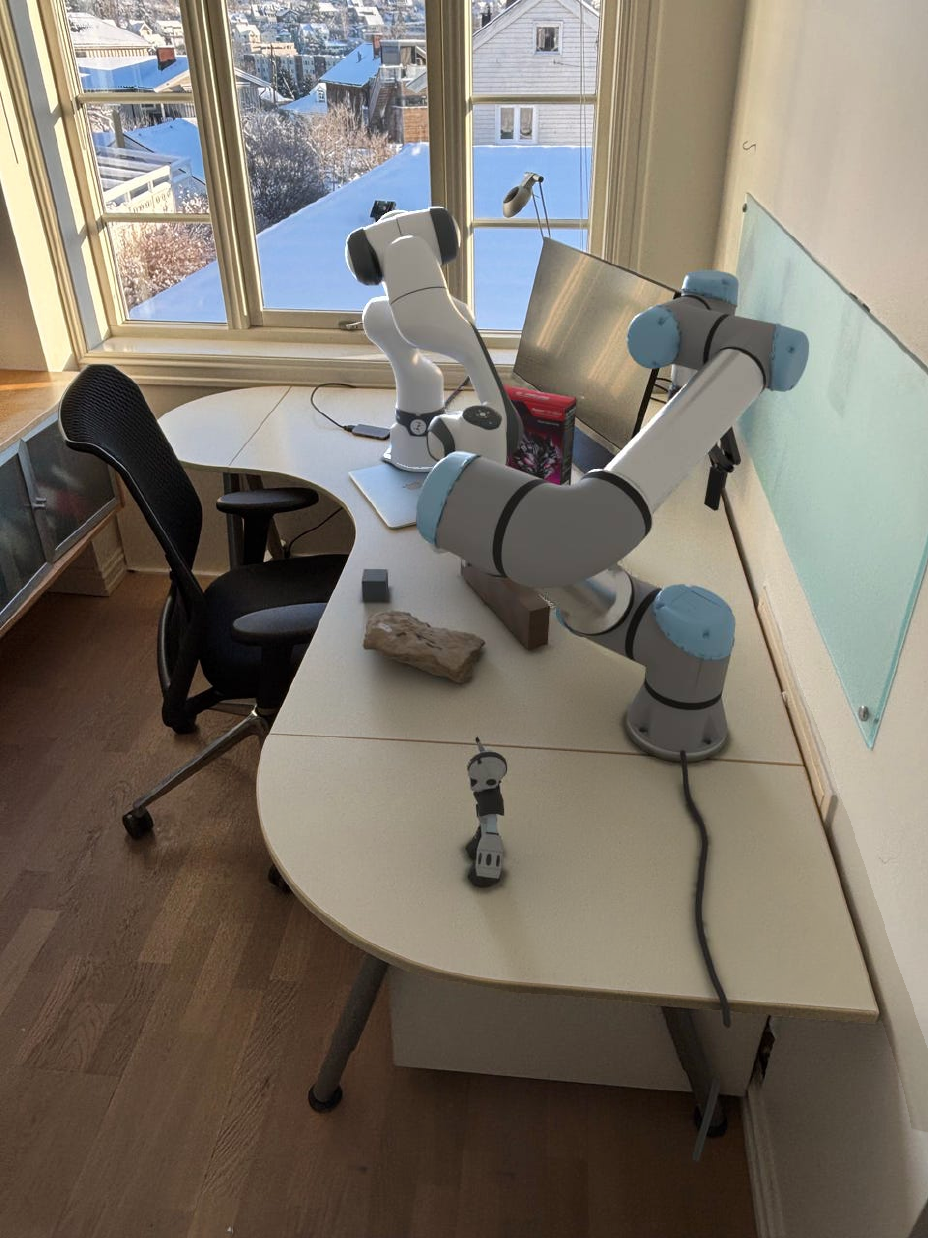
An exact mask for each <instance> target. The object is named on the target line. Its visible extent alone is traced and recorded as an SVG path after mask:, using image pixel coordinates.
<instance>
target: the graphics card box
mask: <svg viewBox="0 0 928 1238" xmlns="http://www.w3.org/2000/svg"><path fill="white" fill-rule="evenodd" d="M503 386H504V389H505V391H506V393H507V395H508V397H509V399H510V401H511V402H512V404H513V406H514V407H515V409H516V410H517V412H518V414H519V415H520V418H521V420H522V423H523V428H524V434H523V438H522V440H521V443H520V445H519V446H518V448H517V449H516V451H515V452H514V453H513V454H512V455H511V456H507V457H506V464H505V465H506V466H508V467H511V468H514V469H516V470H519V471H522V472H524V473H527V474H530V475H532V476H535V477H538V478H540V479H543V480H546V481H548V482H551V483H553V484H556V485H561V486H567V485H572V470H573V469H572V468H573V454H574V443H575V442H574V441H575V429H576V414H577V403H578V399H577V397H576V396H575V397H574V396H567V395H566V396H565V395H561V394H555V393H549V392H545V391H539V390H536V389H535V390H534V389H530V388H523V387H518V386H513V385H510V384H503Z"/></svg>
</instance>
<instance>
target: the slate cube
mask: <svg viewBox="0 0 928 1238" xmlns="http://www.w3.org/2000/svg"><path fill="white" fill-rule="evenodd" d="M361 595H362V602H380V603H381V602H387V601H388V596H389V570H388V568H363V571H362V578H361Z"/></svg>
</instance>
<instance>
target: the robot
mask: <svg viewBox="0 0 928 1238" xmlns="http://www.w3.org/2000/svg"><path fill="white" fill-rule="evenodd" d="M474 740H475V743H476V746H477V748H478V750H479V751H478V752H477V753H475V755H473V756H472V757H471V758H470V759H469V761H468V762H467V765H466V770H467V776H468V779H469V781H470V782H469V789H470V791H472V792H473V793H472V794H473V796H474V799H475V801H476V804H475V814H476V819H477V820H478V827H477V828H476V831H475V833H474V835H473V836H472V838H471V839H470V841H469V842H468V843H467V845H466V847H465V851H466V853H467V855H468V857H469V858H470V859H472V860H474V861H473V862H472V864H471V866H470V868H469V871H468V874H467V877H466V878H467V879H468V880H469V882H470V883H472V885H473V886H476V887H479V888H486V887H491V886H492V885H494V884H496V883H498V882H500V880H501V877H502V873H503V872H502V867H503V866H502V865H503V859H504V849H505V847H504V843H503V838H502V836H501V835H500V833H498V825H497V824H498V816H501V817H504V816H505V804H504V803H505V801H504V797H503V795H502V793H501V785H500V784H501V783H502V779H503V778H504V777H506V775H507V773H508V762H507V759H506V758H505V757H504V756H503V755H502V754H501V753H499V752H497V751H495V750H492V749H485V747H484V745H483V743H482V741H481V739H480V738H479V736H476V737H475V739H474Z"/></svg>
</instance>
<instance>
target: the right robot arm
mask: <svg viewBox="0 0 928 1238" xmlns="http://www.w3.org/2000/svg"><path fill="white" fill-rule="evenodd" d="M739 283H740V282H739V279H738V278H737V276H735V275H734V274H732V273H730V272H726V271H722V270H715V269H714V270H713V269H697V270H693V271H691V272H689V273H687V274H686V275H685V277H684V278H683V284H682V287H681V289H680V293H681V295H680V296H678V297H676V298H675V299H672V300H669V301H666V302H663V303H660V304H656V305H653V306H650V307H648V308H647V309H646V310H644V311H642V312H640V313H638V314H637V315H636V316H635V317H634V318H633V319H632V321H631V322H630V324H629V326H628V328H627V332H626V346H627V350H628V352H629V354H630V357H631V358H632V360H633V361H634V362H635V363H636V364H638V365H639V366H640V367H642V368H645V369H649V370H656V369H661V368H666V367H669V366H670V365H671V372H670V381H671V383H669V386H668V392H667V399H666V404H665V405H664V406H663V407H662V408H661V409H660V410H659V411H657V413H656V414H655V415H654V416H653V417H652V418H651V419H649V420H648V421H647V424H645V425H644V426H643V427H642V429H640V431H638V432H637V434H636V435H635V436H633V438H632V439H630V441H629V442H628V443H627V444H626V445H625V446H624V447H623V448H622V449H621V450H620V451H619V452H618V453H617V454H616V455H615V456H614V457H613V458H612V459H611V461H609V462H608V464H607V465H606V466H605V467H604V468H597V469H592V470H590V471H588V472H587V473H585V474H584V475H583V476H582V477H581V478H580V479H579V480H578V481H577V482H575V483H573V484H571V485H567V486H561V485H556V484H553V483H551V482H548V481H546V480H543V479H540V478H538V477H535V476H532V475H530V474H527V473H524V472H522V471H519V470H516V469H514V468H511V467H508V466H506V465H503V464H500V463H498V462H495V461H492V460H490V459H487V458H484V457H482V455H480V454H473V453H469V452H464V451H457V452H453V453H451V454H449V455H448V456H447V457H446V458H443V459H441V460H440V461H439V462H438V463H437V464H436V465H435V466H434V468H433V469H432V470H431V471H429V473H428V474H427V477H426V478H425V480H424V482H423V484H422V486H421V488H420V492H419V494H418V498H417V502H416V515H415V522H416V528H417V530H418V533H419V535H420V536H421V538H422V539H423V540H425V541H426V542H427V541H428V542H429V543H431V544H433V546H434V547H435V548H438V549H440V548H442V549H444V550H446V551H448V552H447V553H451V554H453V555H455V556H456V557H458V558H460V559H461V558H462V559H464V560H465V561H467V562H468V563H470V564H472V565H473V566H475V567H476V568H478V569H480V570H481V571H483V572H484V573H486V574H488V575H490V576H492V577H495V578H500V579H511V580H512V581H514V582H516V583H518V584H521V585H524V586H527V587H529V588H531V589H532V590H534V591H535V592H537V593H538V594H539V595H540V596H541V597H542V598H543V599H545V600H547V601H548V602H550V603H552V604H553V605H554V607H555V610H554V614H555V617H556V619H557V621H558V623H559V624H560V625H561V626H562V627H563V628H564V629H566V630H568V632H570V633H571V634H572V635H575V636H577V637H579V638H583V639H586V640H588V641H590V642H592V643H595V644H597V645H599V646H601V647H603V648H605V649H608V650H609V651H612V652H613V653H616V654H618V655H620V656H622V657H623V658H626V659H629V660H631V661H632V662H635V663H637V664H639V665H641V666H643V667H644V670H645V671H644V677H643V682H642V684H641V685H640V688H639V689H638V691H637V692H636V694H635V695H634V697H633V699H632V701H631V702H630V704H629V705H628V707H627V711H626V719H625V728H626V732H627V734H628V736H629V738H630V739H631V741H632V742H634V744H636V745H637V746H638V747H639V748H640V749H641V750H643V751H645V752H646V753H648V754H650V755H651V756H654V757H656V758H659V759H662V760H666V761H670V762H675V763H680V766H681V773H682V787H683V793H684V797H685V801H686V804H687V806H688V808H689V810H690V812H691V813H692V815H693V818H694V819H695V822H696V823H697V826H698V828H699V831H700V836H701V849H700V851H701V852H700V857H699V862H698V863H699V864H698V870H697V871H698V872H697V884H696V892H695V903H694V917H695V925H696V931H697V937H698V940H699V944H700V948H701V952H702V955H703V959H704V962H705V965H706V969H707V972H708V975H709V978H710V981H711V983H712V985H713V988H714V990H715V992H716V994H717V996H718V999H719V1002H720V1006H721V1013H722V1024H723V1026H724V1027H725V1028H731V1026H732V1024H731V1023H732V1021H731V1013H730V1012H731V1011H730V1007H729V1002H728V998H727V996H726V993H725V990H724V988H723V986H722V984H721V982H720V980H719V977H718V974H717V972H716V968H715V965H714V961H713V959H712V956H711V953H710V950H709V946H708V942H707V938H706V935H705V928H704V922H703V896H704V887H705V879H706V878H705V877H706V876H705V875H706V865H707V858H708V852H709V851H708V850H709V839H708V832H707V827H706V825H705V822H704V820H703V818H702V816H701V814H700V812H699V811H698V809H697V807H696V805H695V803H694V801H693V798H692V795H691V791H690V783H689V781H690V780H689V769H688V763H694V762H700V761H703V760H706V759H709V758H711V757H714V755H716V754H718V752H720V751H721V750H722V748H723V747H724V744H725V743H726V740H727V739H726V738H727V734H728V721H727V716H726V712H725V708H724V707H725V706H724V701H723V692H724V687H725V682H726V678H727V674H728V669H729V664H730V659H731V654H732V652H733V649H734V646H735V632H736V617H735V615H734V614H733V609H732V607H730V605H729V603H727V601H725V599H723V597H721V596H720V595H718V594H717V593H715V592H713V591H711V590H709V589H708V588H705V587H702V586H699V585H695V584H690V585H689V586H688V585H686V584H685V583H676V584H671V585H668V586H665V587H664V588H662V587H660V586H657V585H654V584H652V583H650V582H648V581H644V580H642V579H640V578H638V577H635V576H633V575H632V574H630V573H629V572H628V571H627V570H626V569H624V568H623V567H622V566H621V565H620V564H618V563H619V562H620V561H621V560H623V559H624V558H626V557H627V556H628V555H630V553H632V552H633V551H634V550H635V549H636V548H638V546H639V545H640V544H641V543H642V541H643V540H644V539H645V538H646V537H647V536H648V535H649V534H650V532H651V531H652V529H653V526H654V514H655V513H656V512H657V510H658V509H659V508H660V507H661V506H662V505H663V504H664V502H666V500H667V499H669V497H670V496H671V495H672V494H673V492H675V490H677V488H678V487H679V486H680V485H681V484H682V483H683V481H684V480H685V479H686V478H687V477H688V476H689V475H690V474H691V472H693V470H694V469H695V468H696V467H697V466H698V464H700V463H701V461H702V460H703V459H704V458H705V457H706V455H708V456H709V457H710V459H711V461H713V463H714V465H712V466H710V467H709V472H708V478H707V484H706V490H705V496H704V502H703V504H704V505H705V506H706V507H708V508H710V509H711V510H712V511H714V512H716V511H719V510H720V509H719V508H720V504H721V503H720V502H721V497H722V493H723V489H724V488H725V487H726V485H727V478H728V474H732V473H733V472H734V471H735V466H739V465H740V464H741V462H742V457H741V455H740V451H739V450H740V449H739V447H738V443H737V438H736V435H735V432H734V428H733V425H734V424H735V423H736V422H737V421H738V419H739V418H740V417H741V416H742V415H743V414H744V413H745V412H746V410H747V409H748V408H749V407H750V406H751V405H752V404H753V403H754V401H756V399H758V397H759V396H760V395H761V394H762V393H764V391H766V389H768V390H769V391H770V392H781V393H782V392H787V391H791V390H793V389H794V388H795V387H796V386H797V385H798V383H799V381H801V378H802V377H803V374H804V373H805V370H806V367H807V363H808V360H809V355H810V341H809V338H808V335H807V334H806V332H804V331H802V330H800V329H796V328H793V327H790V326H789V327H788V326H785V325H781V323H777V322H776V323H773V322H769V321H768V322H767V321H764V320H759V319H753V318H748V317H743V316H738V315H736V310H737V308H738V296H739V288H740V287H739V286H740V284H739ZM719 441H720V445H721V447H720V446H719V445H718V442H719ZM721 448H722V449H721ZM428 542H427V543H428ZM721 1082H722V1079H720V1078H716V1077H713V1080H712V1084H711V1088H710V1093H709V1096H708V1101H707V1105H706V1108H705V1112H704V1115H703V1119H702V1122H701V1125H700V1128H699V1131H698V1135H697V1138H696V1142H695V1146H694V1150H693V1153H692V1160H693V1161H694V1162H696V1163H697V1162H699V1161H700V1159H701V1158H700V1157H701V1155H702V1152H703V1151H702V1150H703V1147H704V1143H705V1140H706V1137H707V1133H708V1130H709V1127H710V1124H711V1120H712V1117H713V1114H714V1110H715V1106H716V1103H717V1099H718V1095H719V1091H720V1088H721V1087H720V1086H721Z"/></svg>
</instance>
